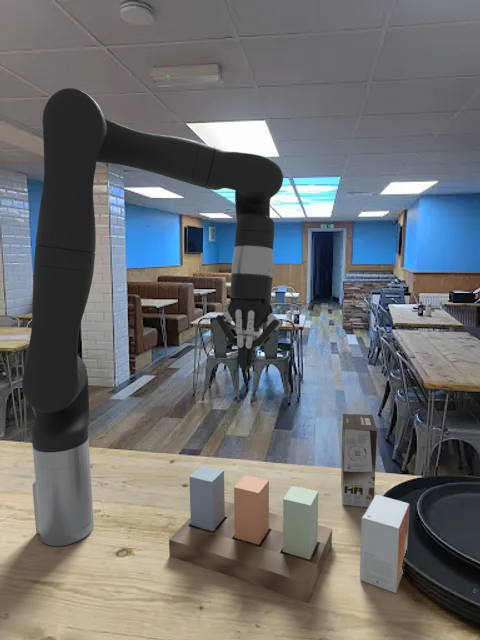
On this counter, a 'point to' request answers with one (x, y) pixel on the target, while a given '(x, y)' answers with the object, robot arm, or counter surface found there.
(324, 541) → the walnut board
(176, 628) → the counter surface
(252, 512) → the terracotta block
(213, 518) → the slate block
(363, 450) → the coffee box
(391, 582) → the small box
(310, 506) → the sage block
